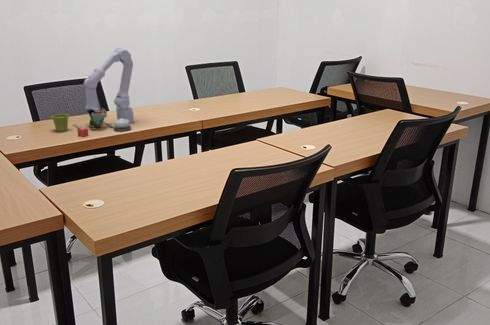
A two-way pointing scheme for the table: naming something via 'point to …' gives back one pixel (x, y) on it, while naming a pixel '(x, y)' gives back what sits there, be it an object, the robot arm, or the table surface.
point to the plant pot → (60, 122)
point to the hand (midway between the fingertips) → (93, 121)
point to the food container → (97, 118)
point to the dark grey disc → (122, 129)
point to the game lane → (103, 123)
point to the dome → (121, 123)
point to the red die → (82, 132)
